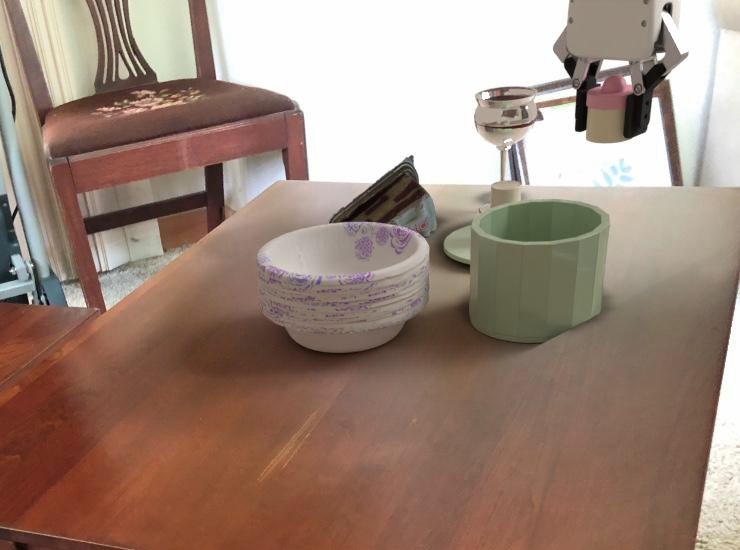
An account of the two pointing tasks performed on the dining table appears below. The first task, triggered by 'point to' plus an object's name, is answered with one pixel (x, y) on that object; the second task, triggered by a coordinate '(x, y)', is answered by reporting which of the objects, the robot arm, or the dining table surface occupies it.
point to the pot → (536, 268)
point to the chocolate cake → (393, 202)
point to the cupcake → (607, 110)
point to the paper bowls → (344, 283)
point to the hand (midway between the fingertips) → (610, 130)
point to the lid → (460, 239)
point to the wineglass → (505, 118)
